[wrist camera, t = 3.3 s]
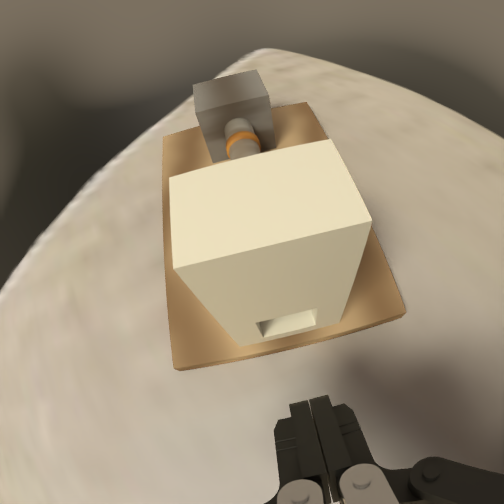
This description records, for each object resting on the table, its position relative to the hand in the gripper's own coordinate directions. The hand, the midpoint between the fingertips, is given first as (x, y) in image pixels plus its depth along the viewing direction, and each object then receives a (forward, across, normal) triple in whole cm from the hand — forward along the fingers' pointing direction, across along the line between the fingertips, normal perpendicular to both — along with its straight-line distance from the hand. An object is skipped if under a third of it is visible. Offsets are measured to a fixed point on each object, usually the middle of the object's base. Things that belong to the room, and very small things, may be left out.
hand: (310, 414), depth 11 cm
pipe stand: (+18, 0, -6) cm, 19 cm away
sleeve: (+10, 0, 0) cm, 10 cm away
